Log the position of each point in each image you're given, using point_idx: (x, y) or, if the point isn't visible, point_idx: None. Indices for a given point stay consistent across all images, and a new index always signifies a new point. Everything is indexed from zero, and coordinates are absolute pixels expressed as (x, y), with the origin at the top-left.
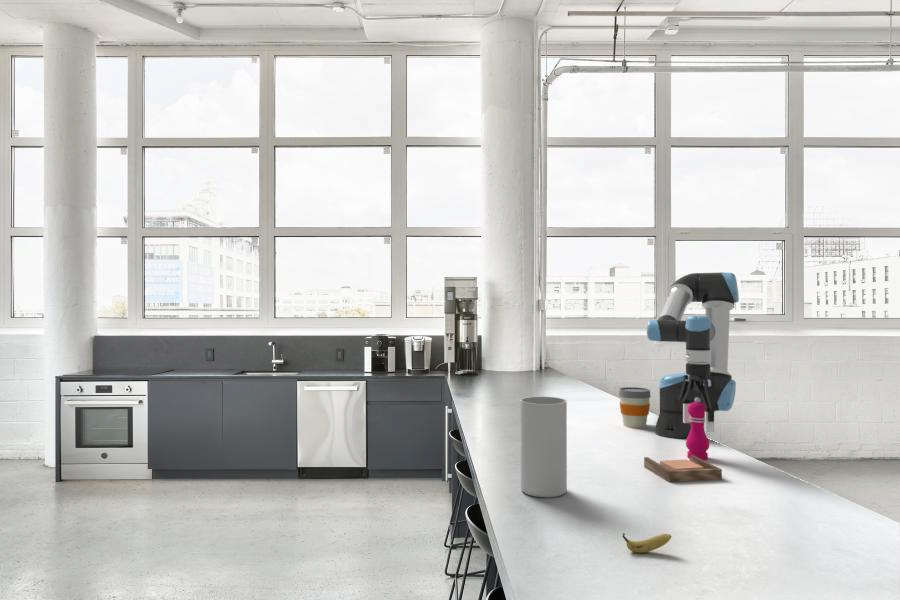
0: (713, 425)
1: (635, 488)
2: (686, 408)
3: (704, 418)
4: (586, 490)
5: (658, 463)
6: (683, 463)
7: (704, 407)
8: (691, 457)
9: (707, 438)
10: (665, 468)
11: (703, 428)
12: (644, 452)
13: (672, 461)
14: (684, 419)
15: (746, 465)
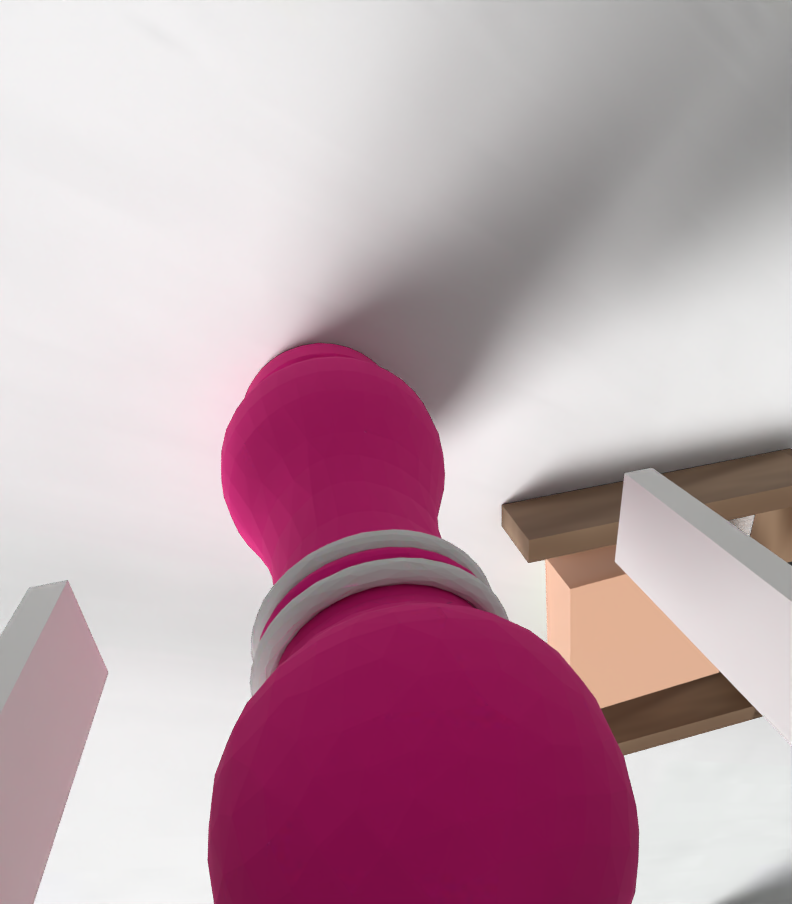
0: (707, 514)
1: (749, 774)
2: (9, 897)
3: (495, 600)
4: (715, 878)
5: (642, 736)
6: (647, 622)
7: (630, 795)
8: (545, 553)
9: (385, 408)
10: (724, 719)
11: (422, 513)
12: (177, 712)
13: (597, 666)
14: (91, 715)
15: (578, 94)
